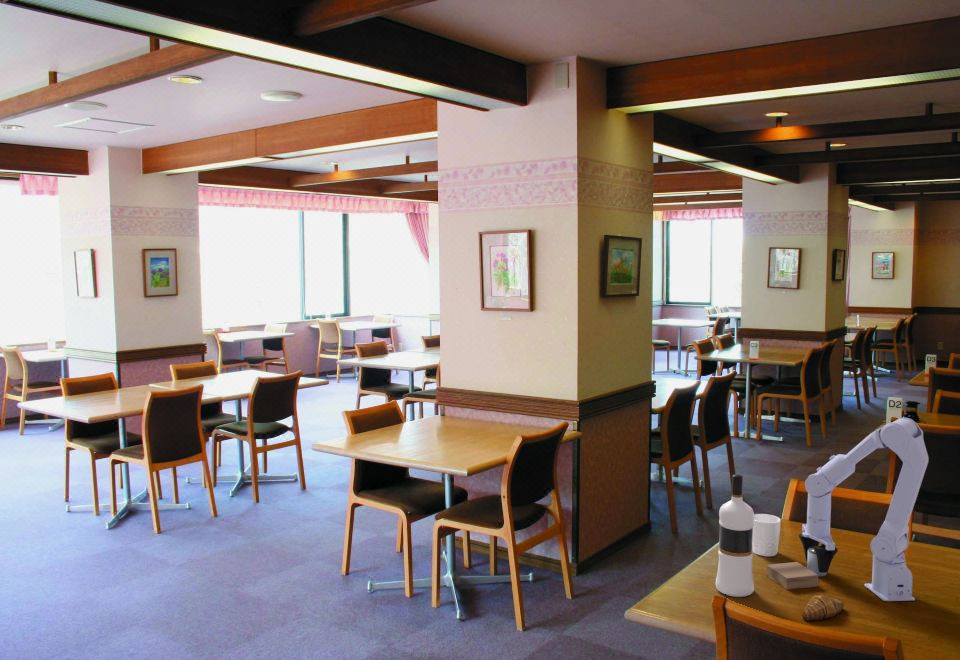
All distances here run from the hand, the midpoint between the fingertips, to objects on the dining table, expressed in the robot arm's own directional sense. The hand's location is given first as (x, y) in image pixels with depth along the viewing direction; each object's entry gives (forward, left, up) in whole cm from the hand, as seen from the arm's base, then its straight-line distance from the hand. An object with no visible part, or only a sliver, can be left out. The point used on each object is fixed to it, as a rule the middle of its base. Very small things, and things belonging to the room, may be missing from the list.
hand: (816, 566), depth 212 cm
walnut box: (-5, +9, -2) cm, 10 cm away
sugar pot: (0, 0, -2) cm, 2 cm away
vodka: (-10, +26, -2) cm, 28 cm away
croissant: (-24, +10, -2) cm, 26 cm away
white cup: (+15, +8, -2) cm, 17 cm away
